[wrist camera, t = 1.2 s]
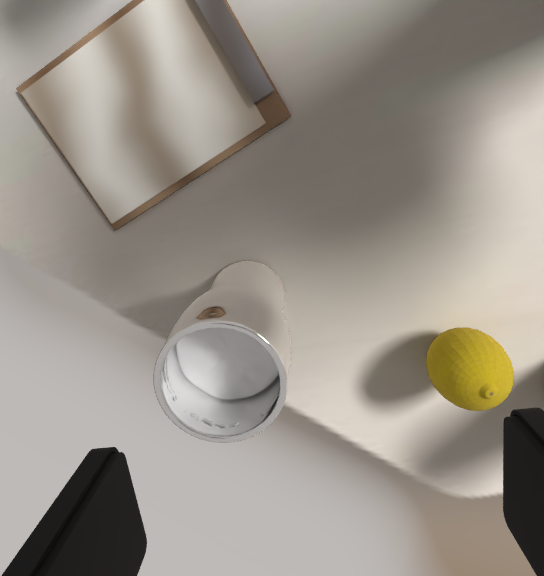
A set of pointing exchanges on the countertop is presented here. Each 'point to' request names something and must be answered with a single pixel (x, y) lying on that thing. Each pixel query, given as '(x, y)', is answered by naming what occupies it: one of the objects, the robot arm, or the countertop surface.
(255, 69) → the clipboard
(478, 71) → the countertop surface
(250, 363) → the beer glass
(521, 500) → the robot arm
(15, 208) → the countertop surface
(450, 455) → the countertop surface
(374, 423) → the countertop surface
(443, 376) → the lemon
